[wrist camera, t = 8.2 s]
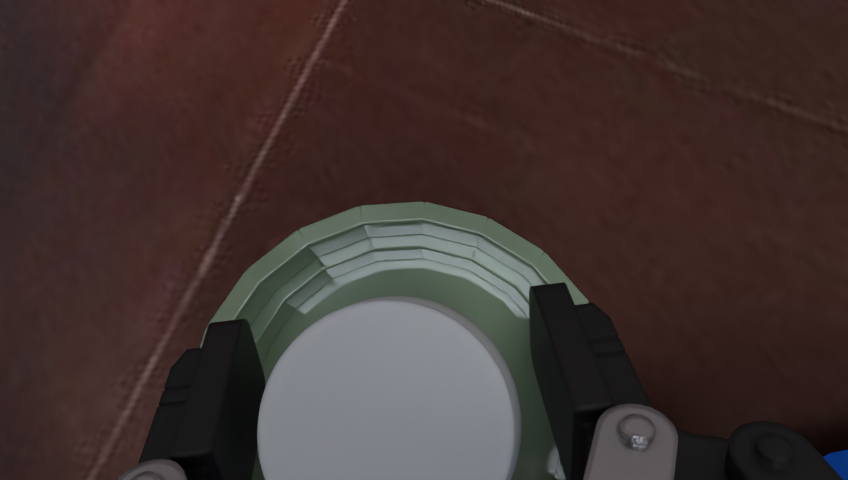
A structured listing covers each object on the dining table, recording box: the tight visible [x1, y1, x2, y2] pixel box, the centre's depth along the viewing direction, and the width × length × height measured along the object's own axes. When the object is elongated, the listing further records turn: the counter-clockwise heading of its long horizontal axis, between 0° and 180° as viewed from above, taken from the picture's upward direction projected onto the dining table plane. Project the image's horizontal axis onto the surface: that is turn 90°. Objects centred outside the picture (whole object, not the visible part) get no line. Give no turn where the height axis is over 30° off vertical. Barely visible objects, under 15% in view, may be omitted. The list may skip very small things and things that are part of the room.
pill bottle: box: [257, 296, 522, 480], centre depth 15 cm, size 5×5×8 cm
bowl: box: [200, 201, 588, 480], centre depth 17 cm, size 10×10×4 cm
